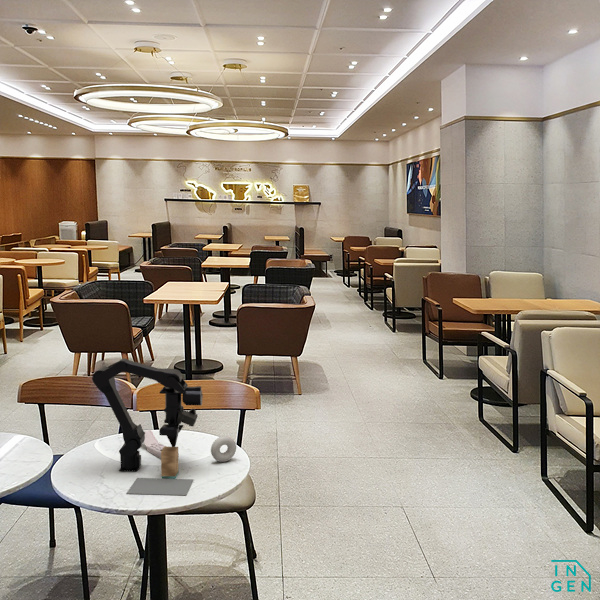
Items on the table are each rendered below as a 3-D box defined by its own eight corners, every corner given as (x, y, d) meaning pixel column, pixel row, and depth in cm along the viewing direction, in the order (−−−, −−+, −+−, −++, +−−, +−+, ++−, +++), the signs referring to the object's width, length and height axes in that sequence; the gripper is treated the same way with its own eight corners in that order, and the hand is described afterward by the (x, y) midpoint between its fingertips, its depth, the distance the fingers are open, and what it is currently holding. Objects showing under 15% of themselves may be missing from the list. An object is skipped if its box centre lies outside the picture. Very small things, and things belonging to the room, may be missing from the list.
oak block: (161, 478, 235) (160, 451, 233) (164, 473, 239) (164, 446, 238) (175, 479, 234) (175, 451, 233) (178, 473, 239) (178, 446, 238)
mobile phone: (150, 429, 270) (182, 445, 251) (150, 443, 270) (182, 460, 252) (136, 432, 266) (168, 449, 247) (136, 446, 266) (168, 464, 248)
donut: (212, 465, 247) (212, 439, 246) (209, 462, 251) (209, 436, 249) (237, 461, 252) (237, 435, 251) (234, 457, 255) (234, 432, 254)
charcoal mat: (126, 494, 221) (126, 493, 221) (137, 478, 234) (137, 477, 234) (186, 495, 221) (186, 494, 221) (193, 480, 234) (193, 479, 234)
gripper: (190, 413, 231) (190, 456, 233) (200, 398, 249) (200, 438, 251) (158, 412, 231) (159, 455, 233) (170, 397, 250) (171, 437, 252)
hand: (173, 446), depth 242 cm, fingers closed
